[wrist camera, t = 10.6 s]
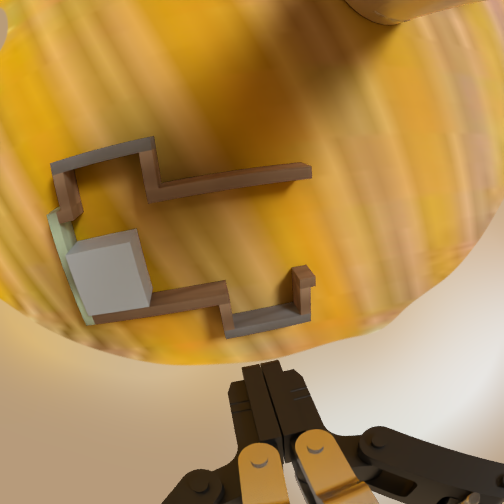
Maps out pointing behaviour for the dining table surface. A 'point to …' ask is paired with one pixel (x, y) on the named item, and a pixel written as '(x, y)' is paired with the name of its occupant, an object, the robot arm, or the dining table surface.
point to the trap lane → (171, 190)
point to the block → (110, 273)
